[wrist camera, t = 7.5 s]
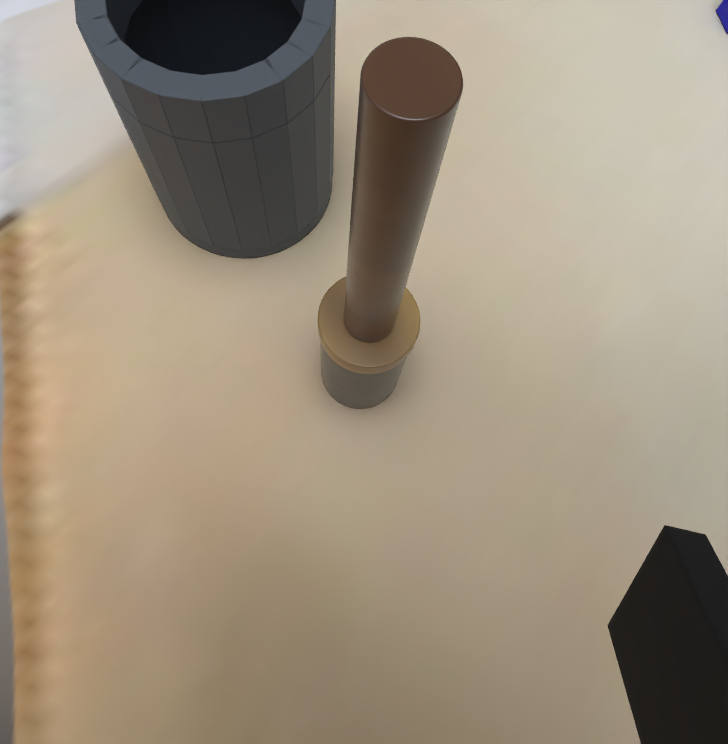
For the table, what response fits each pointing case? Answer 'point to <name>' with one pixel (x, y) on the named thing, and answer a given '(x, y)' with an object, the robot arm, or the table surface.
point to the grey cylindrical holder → (225, 111)
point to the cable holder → (723, 14)
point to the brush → (387, 216)
